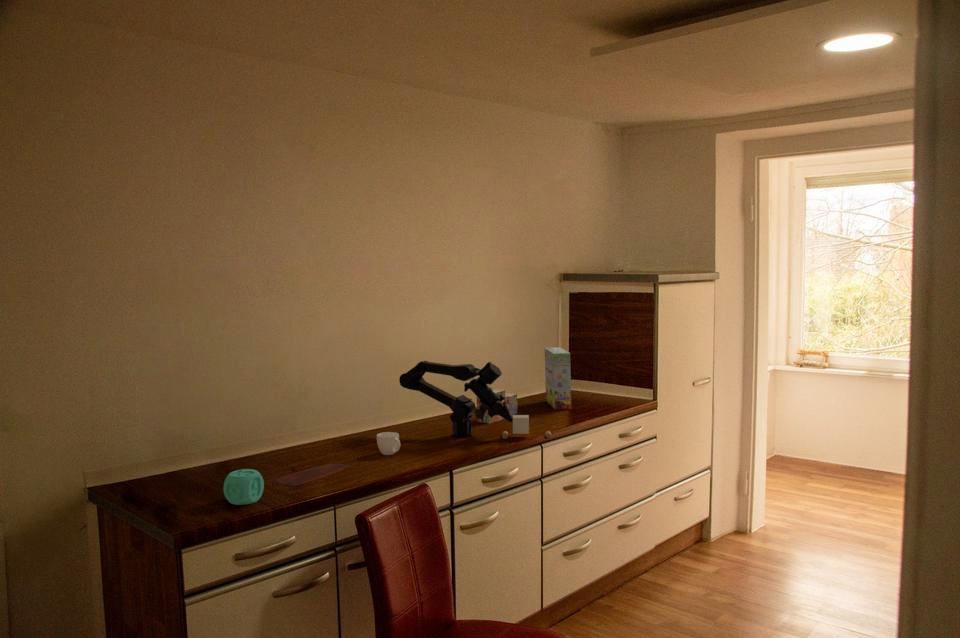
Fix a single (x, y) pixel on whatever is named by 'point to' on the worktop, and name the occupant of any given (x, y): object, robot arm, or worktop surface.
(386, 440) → the cup
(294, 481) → the wooden tablet
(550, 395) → the snack box
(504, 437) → the roller
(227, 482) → the decorative dice
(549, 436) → the cylinder
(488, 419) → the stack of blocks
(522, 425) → the slab
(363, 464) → the worktop surface
